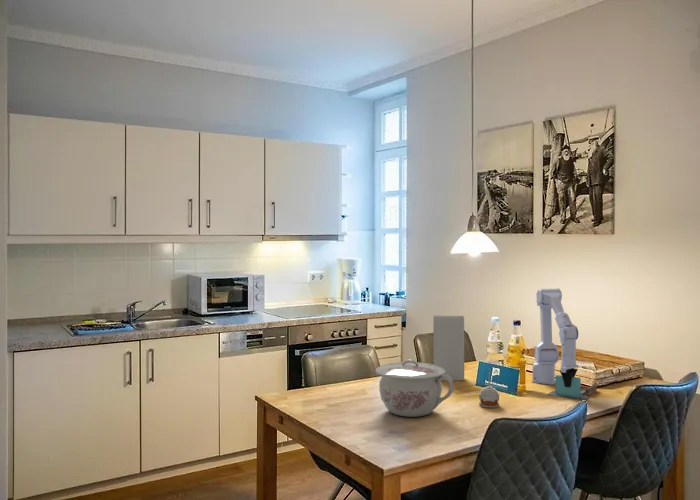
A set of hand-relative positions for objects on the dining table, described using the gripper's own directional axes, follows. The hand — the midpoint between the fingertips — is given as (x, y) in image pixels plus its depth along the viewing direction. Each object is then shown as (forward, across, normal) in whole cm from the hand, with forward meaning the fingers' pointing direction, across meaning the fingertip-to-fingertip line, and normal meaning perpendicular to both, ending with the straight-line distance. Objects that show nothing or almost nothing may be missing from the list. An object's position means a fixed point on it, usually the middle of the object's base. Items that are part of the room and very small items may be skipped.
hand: (568, 386), depth 265 cm
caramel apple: (+4, -33, +21) cm, 39 cm away
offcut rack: (+4, +10, 0) cm, 11 cm away
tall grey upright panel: (+4, -2, +56) cm, 56 cm away
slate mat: (+4, 0, 0) cm, 4 cm away
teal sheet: (+4, 0, 0) cm, 4 cm away
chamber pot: (+4, -59, +42) cm, 73 cm away
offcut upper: (+4, +7, 0) cm, 8 cm away
